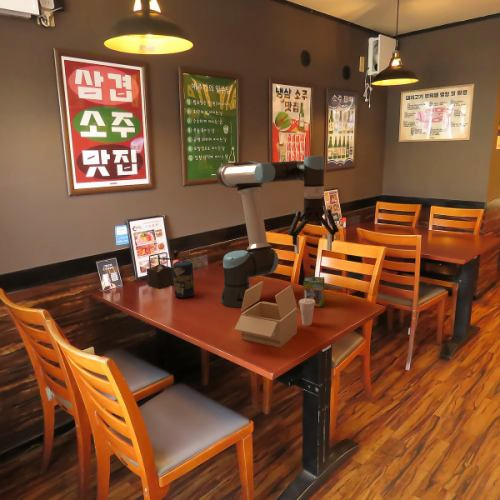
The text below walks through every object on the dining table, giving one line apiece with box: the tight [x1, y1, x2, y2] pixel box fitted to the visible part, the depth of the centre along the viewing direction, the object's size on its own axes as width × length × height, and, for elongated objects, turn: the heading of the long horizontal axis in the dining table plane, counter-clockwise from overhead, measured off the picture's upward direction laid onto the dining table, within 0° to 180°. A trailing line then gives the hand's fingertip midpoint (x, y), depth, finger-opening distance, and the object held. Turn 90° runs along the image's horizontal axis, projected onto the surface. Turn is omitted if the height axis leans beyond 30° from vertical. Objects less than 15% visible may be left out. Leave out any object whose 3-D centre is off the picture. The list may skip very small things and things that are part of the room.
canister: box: [172, 260, 195, 299], centre depth 206 cm, size 10×10×18 cm
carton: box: [240, 301, 298, 349], centre depth 159 cm, size 16×14×10 cm
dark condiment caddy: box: [146, 250, 180, 290], centre depth 227 cm, size 16×11×18 cm
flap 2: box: [234, 314, 277, 337], centre depth 149 cm, size 15×6×1 cm
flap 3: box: [274, 285, 298, 318], centre depth 153 cm, size 8×13×1 cm
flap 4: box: [261, 301, 301, 313], centre depth 167 cm, size 15×6×1 cm
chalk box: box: [303, 270, 325, 308], centre depth 191 cm, size 9×9×15 cm
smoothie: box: [298, 290, 315, 326], centre depth 169 cm, size 6×6×14 cm
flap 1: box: [240, 280, 264, 312], centre depth 160 cm, size 8×13×1 cm
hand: (313, 251), depth 166 cm, fingers open, 13 cm apart
